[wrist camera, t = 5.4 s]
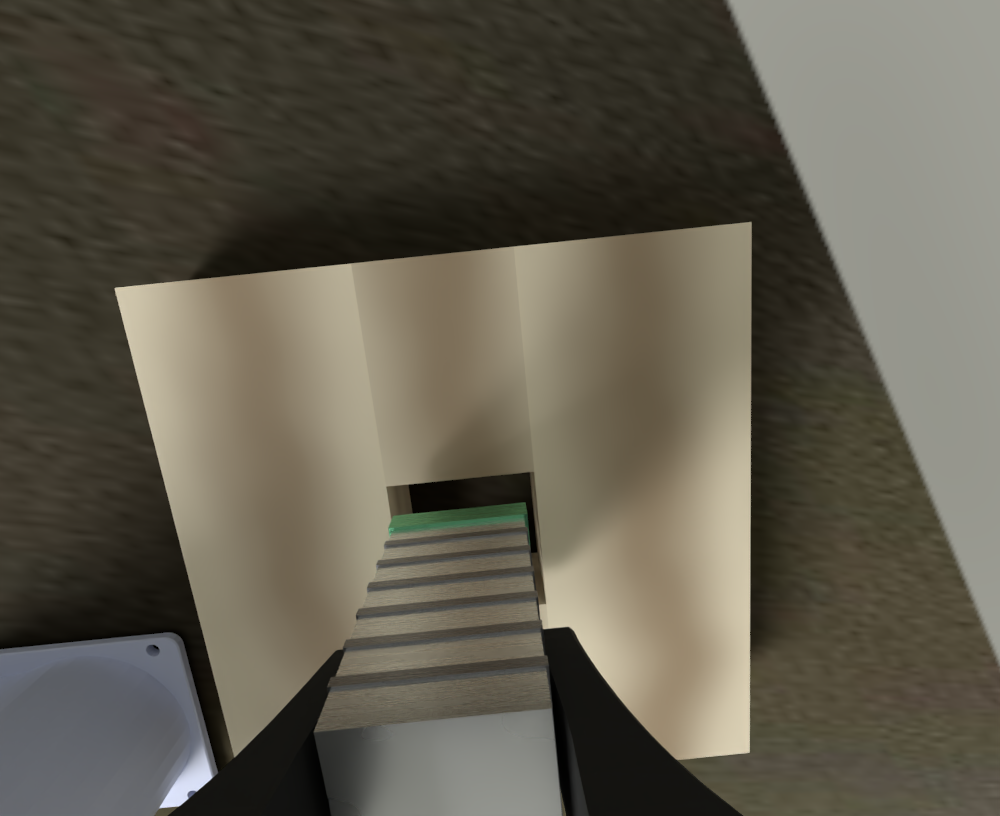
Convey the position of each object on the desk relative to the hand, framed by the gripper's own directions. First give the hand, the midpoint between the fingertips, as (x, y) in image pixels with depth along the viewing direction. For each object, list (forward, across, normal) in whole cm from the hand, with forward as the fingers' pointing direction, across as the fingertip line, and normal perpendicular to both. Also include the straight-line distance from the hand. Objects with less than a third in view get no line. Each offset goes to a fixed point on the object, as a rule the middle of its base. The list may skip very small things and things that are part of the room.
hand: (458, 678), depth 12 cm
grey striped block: (+5, 0, 0) cm, 5 cm away
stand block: (+9, 0, 0) cm, 9 cm away
